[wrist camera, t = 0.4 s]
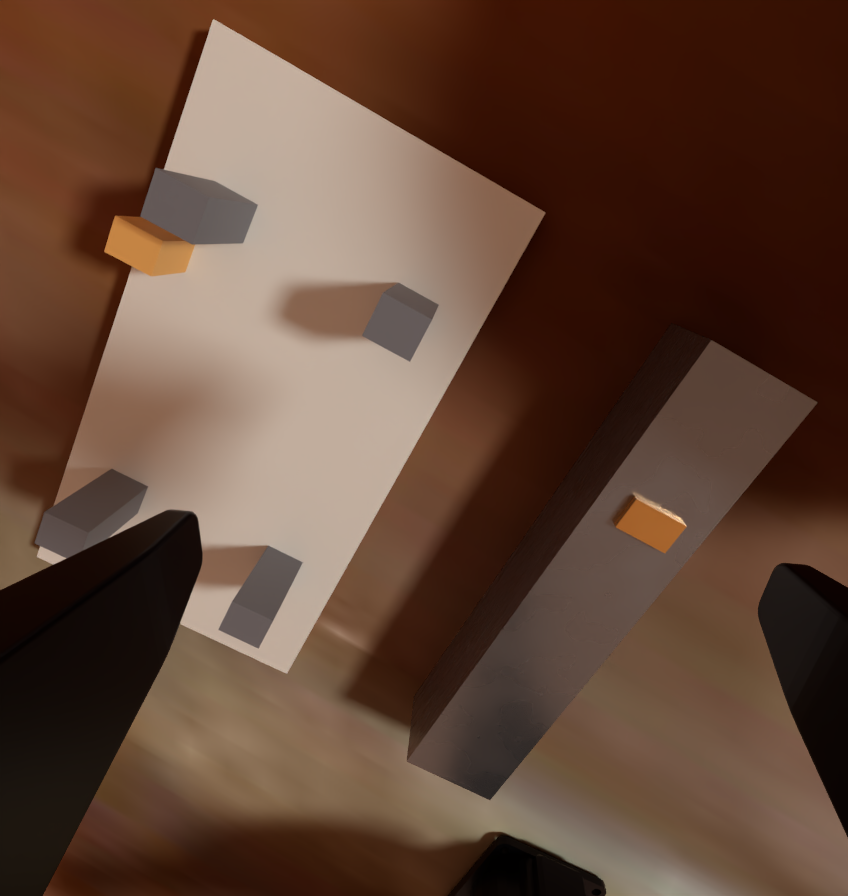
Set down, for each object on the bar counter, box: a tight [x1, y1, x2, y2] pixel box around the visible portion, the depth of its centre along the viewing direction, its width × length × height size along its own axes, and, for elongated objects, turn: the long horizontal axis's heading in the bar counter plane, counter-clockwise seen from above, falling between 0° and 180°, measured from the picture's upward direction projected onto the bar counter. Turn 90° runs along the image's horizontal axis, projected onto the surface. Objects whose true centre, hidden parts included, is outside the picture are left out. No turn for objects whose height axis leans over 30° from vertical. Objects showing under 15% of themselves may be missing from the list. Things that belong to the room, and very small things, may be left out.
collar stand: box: [35, 19, 545, 674], centre depth 21 cm, size 22×12×5 cm, turn 152°
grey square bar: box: [407, 323, 818, 800], centre depth 23 cm, size 20×4×4 cm, turn 152°
